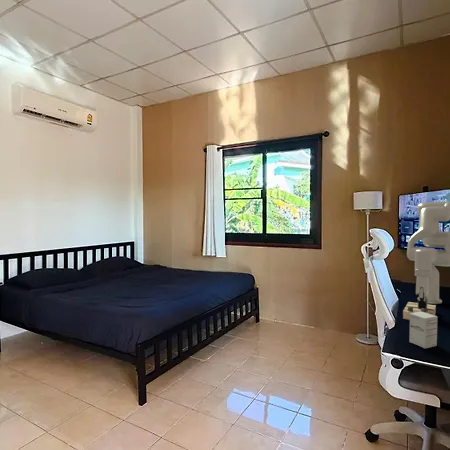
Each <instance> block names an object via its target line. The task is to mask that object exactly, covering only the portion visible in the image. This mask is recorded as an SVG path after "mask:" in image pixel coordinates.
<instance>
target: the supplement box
mask: <svg viewBox="0 0 450 450" xmlns="http://www.w3.org/2000/svg"><path fill="white" fill-rule="evenodd" d="M408 337H409V339H408V340H409V343H411V344H414V345H417V346H419V347H420V348H423V349H429V348H432V347H433V348H434V347H436V346H437V343H438V341H437V340H438V316H437V315H435V316H434V315H431V314H428V313H425V312H422V311H421V312H415V313H410V320H409V336H408Z"/></svg>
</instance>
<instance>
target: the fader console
mask: <svg viewBox="0 0 450 450" xmlns="http://www.w3.org/2000/svg"><path fill="white" fill-rule="evenodd" d="M436 306H437V304H429V303H427V309H424V308H418V302H411V301H408V302H407V304H406V305H405V307H404V308H403V310H402V319H404V320H408V321H410V313H415V312H421V311H422V312H425V313H428V314H431V315H434V316H436V309H437V307H436Z"/></svg>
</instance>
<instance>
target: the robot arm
mask: <svg viewBox="0 0 450 450" xmlns="http://www.w3.org/2000/svg"><path fill="white" fill-rule="evenodd" d="M417 212H418V216H419V218H418V230H417V231H416V232H414V233H413V234H412V235H411V236H410V238H409V240H408V242H407V247H406V249H407V250H406V257H407V259H408V260H409V261H414V276H415V277H416V279H415V280H416V283H415V295H416V296H417V295H418V297H417V299H418V298H419V308H424V309H426V301H425V299H427V304H430V305H439V304H442V303H443V300H442V299H441V298H440V272H439V270H438V269H437V268H436V266H438V267H450V231H440V222H448V221H450V202H449V201H427V202H425V201H424V202H421V203H419V204H418V205H417ZM421 240H422V245H424V246H425V247H423V246H414V245H416V243H417V242H419V241H421ZM435 248H440V249H435ZM442 248H443V249H442Z"/></svg>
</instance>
